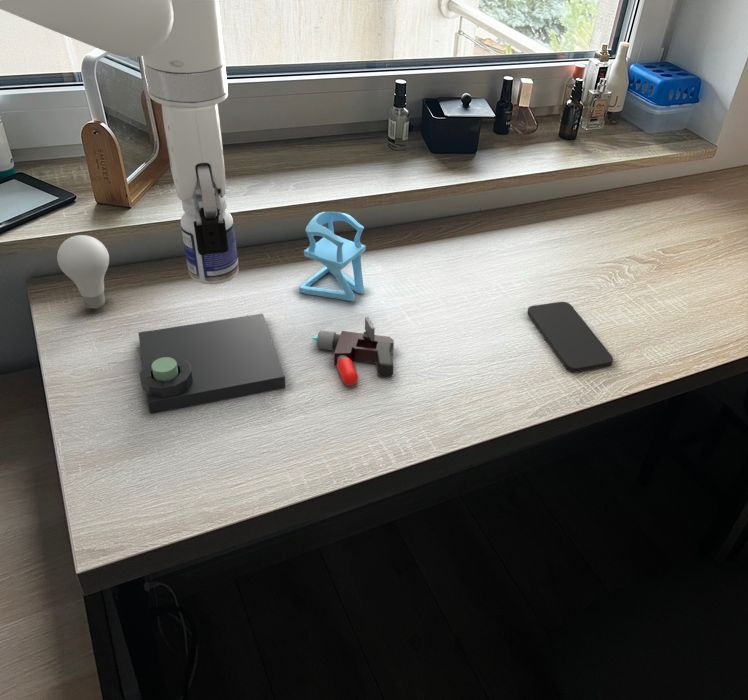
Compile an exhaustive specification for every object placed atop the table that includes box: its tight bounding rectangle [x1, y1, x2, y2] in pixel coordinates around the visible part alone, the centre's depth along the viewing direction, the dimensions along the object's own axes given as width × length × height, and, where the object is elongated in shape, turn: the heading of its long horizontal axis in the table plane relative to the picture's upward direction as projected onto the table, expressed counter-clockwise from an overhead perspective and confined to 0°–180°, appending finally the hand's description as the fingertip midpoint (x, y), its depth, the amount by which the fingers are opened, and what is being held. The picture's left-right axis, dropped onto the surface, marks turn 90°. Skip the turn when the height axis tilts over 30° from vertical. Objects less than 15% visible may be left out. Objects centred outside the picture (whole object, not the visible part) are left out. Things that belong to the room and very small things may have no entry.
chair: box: [298, 211, 367, 303], centre depth 106 cm, size 8×8×12 cm
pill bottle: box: [180, 188, 240, 285], centre depth 83 cm, size 6×6×10 cm
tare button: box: [152, 357, 178, 381], centre depth 86 cm, size 3×3×2 cm
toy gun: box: [311, 316, 395, 386], centre depth 95 cm, size 10×12×5 cm
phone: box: [526, 301, 614, 373], centre depth 106 cm, size 7×1×15 cm
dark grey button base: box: [138, 313, 287, 415], centre depth 92 cm, size 16×14×4 cm
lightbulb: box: [56, 234, 110, 310], centre depth 97 cm, size 6×6×11 cm
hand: (209, 236), depth 83 cm, fingers closed on pill bottle, 5 cm apart
